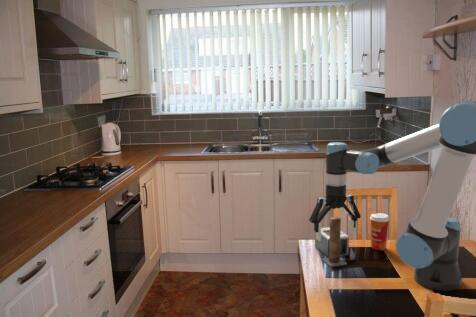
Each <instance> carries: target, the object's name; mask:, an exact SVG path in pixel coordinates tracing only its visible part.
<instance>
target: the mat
mask: <svg viewBox="0 0 476 317" xmlns="http://www.w3.org/2000/svg"><path fill="white" fill-rule="evenodd" d="M321 260H322V261H323V263H325V264H326V265H327V266H328V267H329V268H333V267H334V268H335V267H341V266H347V265H348V263H347V262H346V261H344V259H342V258H341V257H340V262H338V263H332V262H330V261H329V258H327V257H323V258H321Z"/></svg>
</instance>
